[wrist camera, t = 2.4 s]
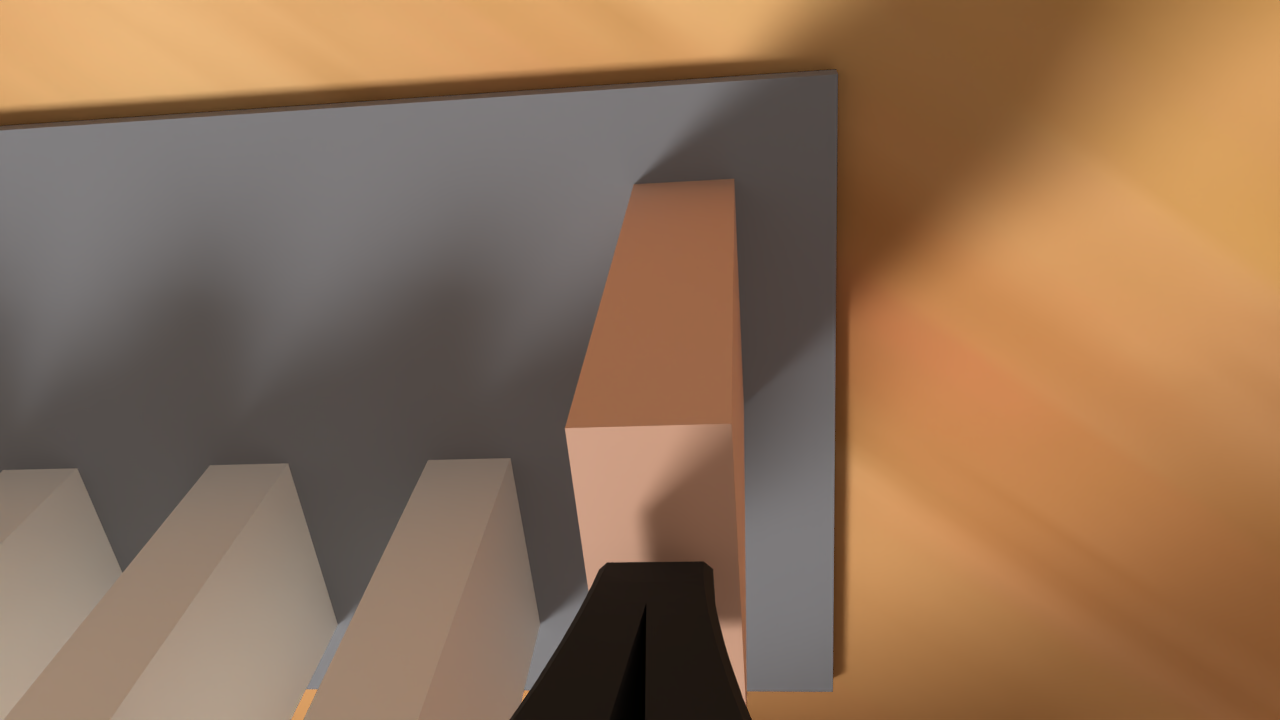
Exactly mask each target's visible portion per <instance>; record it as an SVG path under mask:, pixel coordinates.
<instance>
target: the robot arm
mask: <svg viewBox="0 0 1280 720" xmlns="http://www.w3.org/2000/svg"><path fill="white" fill-rule="evenodd" d="M509 720H752V719H751V717H750V714H749V712H748V709H747V707H746V704H745V702H744V699H743V696H742V694H741V691H740V688H739V685H738V682H737V679H736V676H735V674H734V671H733V668H732V665H731V662H730V659H729V656H728V653H727V649H726V646H725V642H724V639H723V635H722V631H721V627H720V623H719V619H718V614H717V609H716V604H715V589H714V574H713V568H711V567H710V566H709V565H708V564H706V563H705V562H704V561H696V562H607V563H606V564H605V565H604V566H603V567H601V568H600V569H599V571H598V573H597V575H596V577H595V579H594V582H593V584H592V586H591V588H590V590H589V592H588V594H587V596H586V598H585V599H584V601H583V603H582V605H581V607H580V609H579V611H578V613H577V614H576V616H575V618H574V620H573V621H572V623H571V625H570V627H569V628H568V630H567V632H566V634H565V635H564V637H563V639H562V641H561V642H560V644H559V645H558V647H557V649H556V650H555V652H554V653H553V655H552V657H551V658H550V660H549V661H548V663H547V665H546V666H545V668H544V669H543V671H542V672H541V674H540V676H539V677H538V679H537V680H536V682H535V684H534V685H533V687H532V688H531V690H530V691H529V693H528V694H527V696H526V697H525V698H524V700H523V701H522V703H521V704H520V705H519V707H518V708H517V710H516V711H515V712H514V714H513V715H512V717H511V718H510V719H509Z"/></svg>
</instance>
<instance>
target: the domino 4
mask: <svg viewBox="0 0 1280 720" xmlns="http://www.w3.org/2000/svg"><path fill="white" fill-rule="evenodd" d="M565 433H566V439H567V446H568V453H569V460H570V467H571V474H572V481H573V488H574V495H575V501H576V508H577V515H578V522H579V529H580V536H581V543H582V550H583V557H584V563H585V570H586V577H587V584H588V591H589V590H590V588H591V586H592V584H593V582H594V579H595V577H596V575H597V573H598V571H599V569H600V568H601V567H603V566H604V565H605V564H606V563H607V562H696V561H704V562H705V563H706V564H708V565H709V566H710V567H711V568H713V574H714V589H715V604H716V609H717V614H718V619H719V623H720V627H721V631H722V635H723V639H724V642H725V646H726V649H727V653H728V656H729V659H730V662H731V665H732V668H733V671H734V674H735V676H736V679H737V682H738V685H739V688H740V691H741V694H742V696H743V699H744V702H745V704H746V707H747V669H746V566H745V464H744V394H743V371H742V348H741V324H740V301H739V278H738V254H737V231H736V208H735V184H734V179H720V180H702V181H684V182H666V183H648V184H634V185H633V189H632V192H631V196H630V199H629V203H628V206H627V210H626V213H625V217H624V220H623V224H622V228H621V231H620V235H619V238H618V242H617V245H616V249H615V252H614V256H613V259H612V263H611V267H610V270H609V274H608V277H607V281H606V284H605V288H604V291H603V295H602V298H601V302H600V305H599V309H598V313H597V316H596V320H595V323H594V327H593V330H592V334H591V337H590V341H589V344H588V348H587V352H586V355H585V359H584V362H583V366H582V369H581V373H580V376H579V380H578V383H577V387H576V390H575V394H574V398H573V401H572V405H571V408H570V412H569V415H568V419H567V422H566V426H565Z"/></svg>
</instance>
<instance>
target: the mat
mask: <svg viewBox="0 0 1280 720" xmlns="http://www.w3.org/2000/svg"><path fill="white" fill-rule="evenodd" d="M837 118H838V73H837V71H836V69H833V70H819V71H804V72H789V73H774V74H760V75H745V76H730V77H715V78H701V79H686V80H671V81H656V82H642V83H627V84H612V85H597V86H583V87H568V88H553V89H538V90H524V91H509V92H494V93H479V94H465V95H450V96H435V97H420V98H406V99H391V100H376V101H361V102H347V103H332V104H317V105H302V106H288V107H273V108H258V109H243V110H229V111H214V112H199V113H184V114H170V115H155V116H140V117H125V118H111V119H96V120H81V121H66V122H52V123H37V124H22V125H7V126H0V473H1V472H2V471H3V470H25V469H68V468H77V469H78V471H79V473H80V476H81V478H82V480H83V483H84V485H85V487H86V490H87V492H88V494H89V497H90V499H91V501H92V504H93V506H94V508H95V510H96V513H97V515H98V517H99V520H100V522H101V524H102V527H103V529H104V531H105V534H106V536H107V538H108V541H109V543H110V545H111V547H112V550H113V552H114V554H115V557H116V559H117V561H118V564H119V566H120V568H121V571H122V573H123V572H124V571H125V569H126V568H127V567H128V566H129V564H130V563H131V562H132V561H133V559H134V558H135V557H136V556H137V555H138V553H139V552H140V551H141V550H142V548H143V547H144V546H145V545H146V543H147V542H148V541H149V540H150V539H151V537H152V536H153V535H154V534H155V532H156V531H157V530H158V529H159V527H160V526H161V525H162V524H163V522H164V521H165V520H166V519H167V518H168V516H169V515H170V514H171V513H172V511H173V510H174V509H175V508H176V506H177V505H178V504H179V503H180V502H181V500H182V499H183V498H184V497H185V495H186V494H187V493H188V492H189V490H190V489H191V488H192V487H193V486H194V484H195V483H196V482H197V481H198V479H199V478H200V477H201V476H202V474H203V473H204V472H205V471H206V469H207V468H208V467H209V466H210V465H238V464H281V463H288V465H289V468H290V471H291V475H292V478H293V481H294V484H295V488H296V491H297V494H298V497H299V501H300V504H301V507H302V510H303V514H304V517H305V520H306V523H307V526H308V530H309V533H310V536H311V539H312V543H313V546H314V549H315V552H316V556H317V559H318V562H319V565H320V569H321V572H322V575H323V578H324V582H325V585H326V588H327V591H328V595H329V598H330V601H331V604H332V607H333V611H334V614H335V617H336V620H337V624H338V625H337V627H336V629H335V631H334V633H333V635H332V637H331V639H330V641H329V644H328V646H327V648H326V650H325V652H324V654H323V656H322V658H321V660H320V662H319V664H318V666H317V668H316V670H315V672H314V674H313V676H312V678H311V680H310V682H309V684H308V686H307V688H306V689H318V688H319V686H320V684H321V682H322V680H323V678H324V676H325V674H326V672H327V669H328V667H329V665H330V663H331V661H332V659H333V657H334V655H335V653H336V651H337V649H338V647H339V645H340V642H341V640H342V638H343V636H344V634H345V632H346V630H347V628H348V626H349V624H350V622H351V620H352V617H353V615H354V613H355V611H356V609H357V607H358V605H359V603H360V601H361V599H362V597H363V595H364V592H365V590H366V588H367V586H368V584H369V582H370V580H371V578H372V576H373V574H374V572H375V570H376V567H377V565H378V563H379V561H380V559H381V557H382V555H383V553H384V551H385V549H386V547H387V545H388V542H389V540H390V538H391V536H392V534H393V532H394V530H395V528H396V526H397V524H398V522H399V520H400V517H401V515H402V513H403V511H404V509H405V507H406V505H407V503H408V501H409V499H410V497H411V495H412V492H413V490H414V488H415V486H416V484H417V482H418V480H419V478H420V476H421V474H422V472H423V470H424V468H425V465H426V463H427V461H428V460H450V459H493V458H511V464H512V470H513V475H514V481H515V486H516V492H517V497H518V503H519V509H520V514H521V520H522V525H523V531H524V537H525V542H526V548H527V553H528V559H529V564H530V570H531V576H532V581H533V587H534V592H535V598H536V604H537V609H538V615H539V620H540V627H539V631H538V635H537V639H536V643H535V647H534V651H533V655H532V659H531V664H530V668H529V672H528V676H527V680H526V684H525V688H524V690H531V688H532V687H533V685H534V684H535V682H536V680H537V679H538V677H539V676H540V674H541V672H542V671H543V669H544V668H545V666H546V665H547V663H548V661H549V660H550V658H551V657H552V655H553V653H554V652H555V650H556V649H557V647H558V645H559V644H560V642H561V641H562V639H563V637H564V635H565V634H566V632H567V630H568V628H569V627H570V625H571V623H572V621H573V620H574V618H575V616H576V614H577V613H578V611H579V609H580V607H581V605H582V603H583V601H584V599H585V598H586V596H587V594H588V592H589V591H588V584H587V577H586V570H585V563H584V557H583V550H582V543H581V536H580V529H579V522H578V515H577V508H576V501H575V495H574V488H573V481H572V474H571V467H570V460H569V453H568V446H567V439H566V433H565V426H566V422H567V419H568V415H569V412H570V408H571V405H572V401H573V398H574V394H575V390H576V387H577V383H578V380H579V376H580V373H581V369H582V366H583V362H584V359H585V355H586V352H587V348H588V344H589V341H590V337H591V334H592V330H593V327H594V323H595V320H596V316H597V313H598V309H599V305H600V302H601V298H602V295H603V291H604V288H605V284H606V281H607V277H608V274H609V270H610V267H611V263H612V259H613V256H614V252H615V249H616V245H617V242H618V238H619V235H620V231H621V228H622V224H623V220H624V217H625V213H626V210H627V206H628V203H629V199H630V196H631V192H632V189H633V185H634V184H648V183H666V182H684V181H702V180H720V179H734V184H735V208H736V231H737V254H738V278H739V301H740V324H741V348H742V371H743V394H744V464H745V566H746V669H747V691H793V692H833V603H834V482H835V361H836V239H837Z"/></svg>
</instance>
